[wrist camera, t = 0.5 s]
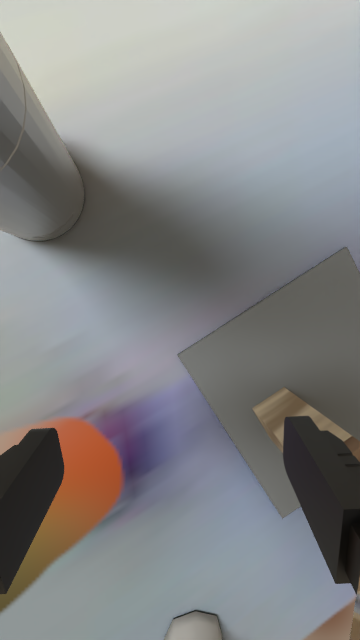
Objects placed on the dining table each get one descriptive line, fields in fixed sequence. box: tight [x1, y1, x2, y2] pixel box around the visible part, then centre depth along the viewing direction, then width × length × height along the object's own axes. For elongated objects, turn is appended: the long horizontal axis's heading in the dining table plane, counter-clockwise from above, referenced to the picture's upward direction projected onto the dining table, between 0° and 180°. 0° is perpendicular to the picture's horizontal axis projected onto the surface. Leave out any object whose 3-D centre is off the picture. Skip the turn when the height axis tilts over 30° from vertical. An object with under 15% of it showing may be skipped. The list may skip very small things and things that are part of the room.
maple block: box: [252, 387, 360, 462], centre depth 27 cm, size 4×4×12 cm
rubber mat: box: [178, 247, 360, 519], centre depth 33 cm, size 24×22×1 cm
